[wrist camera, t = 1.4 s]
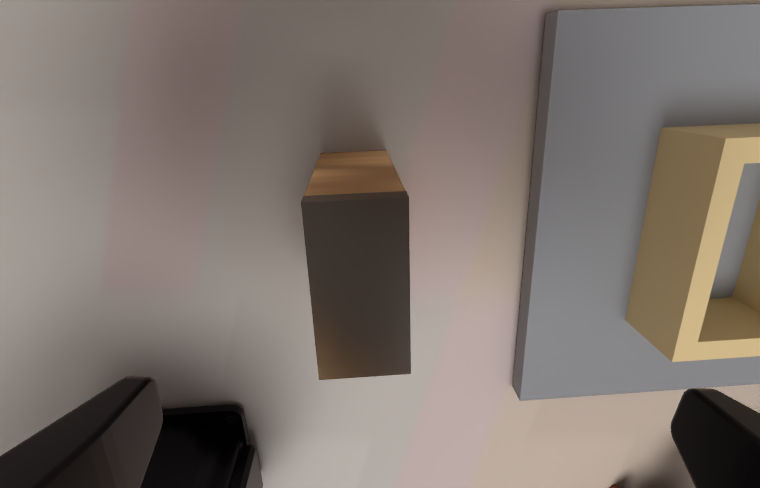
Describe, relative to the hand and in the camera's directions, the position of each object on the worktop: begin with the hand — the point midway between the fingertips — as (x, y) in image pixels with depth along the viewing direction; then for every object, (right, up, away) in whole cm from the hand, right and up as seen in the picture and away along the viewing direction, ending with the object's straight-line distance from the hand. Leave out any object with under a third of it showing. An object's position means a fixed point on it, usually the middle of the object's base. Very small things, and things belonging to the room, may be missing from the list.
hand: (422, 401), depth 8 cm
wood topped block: (-2, +4, +10) cm, 11 cm away
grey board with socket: (+12, +4, +11) cm, 17 cm away
